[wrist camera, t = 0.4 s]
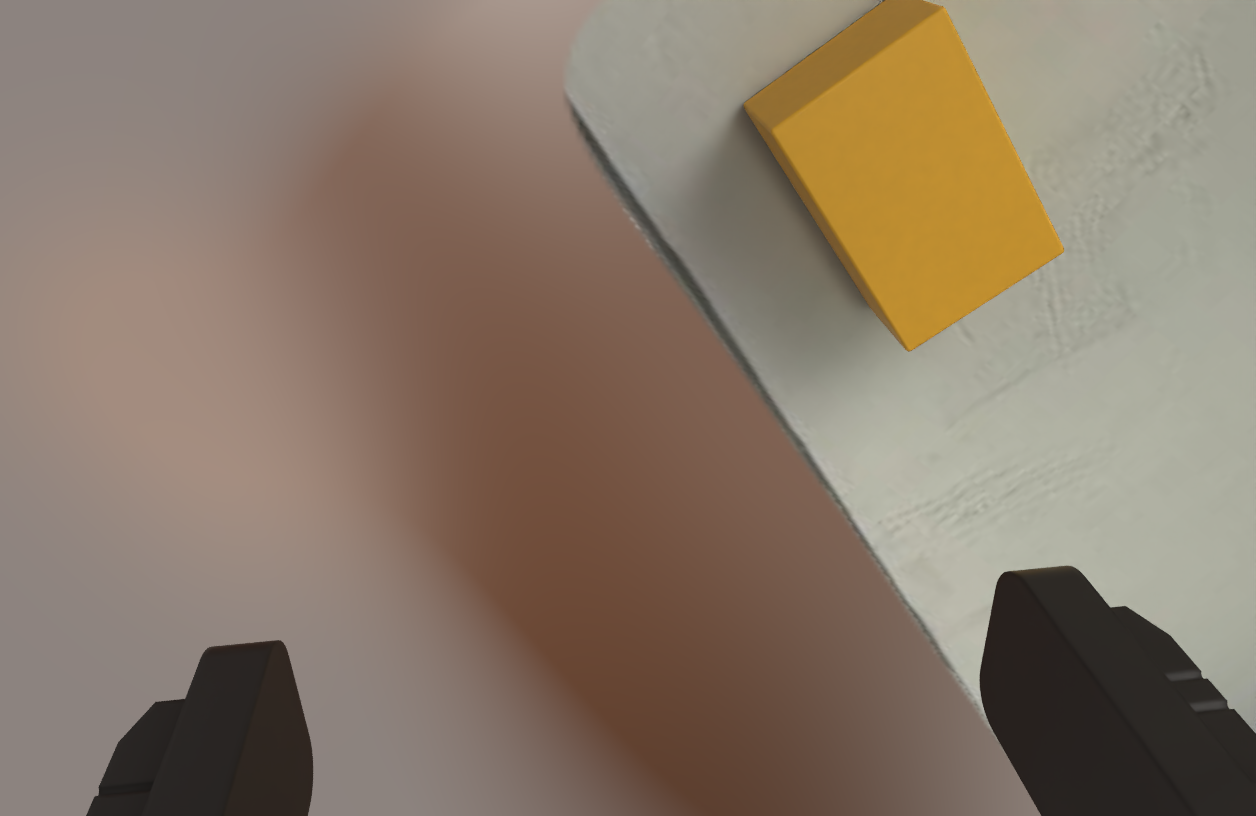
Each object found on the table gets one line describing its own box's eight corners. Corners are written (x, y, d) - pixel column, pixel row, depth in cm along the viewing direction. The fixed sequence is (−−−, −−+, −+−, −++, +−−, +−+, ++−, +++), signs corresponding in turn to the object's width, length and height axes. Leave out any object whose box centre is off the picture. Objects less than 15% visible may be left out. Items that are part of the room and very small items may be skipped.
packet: (741, 103, 25) (769, 131, 22) (896, -10, 24) (945, 5, 21) (870, 308, 28) (908, 353, 25) (1012, 215, 27) (1067, 251, 24)
